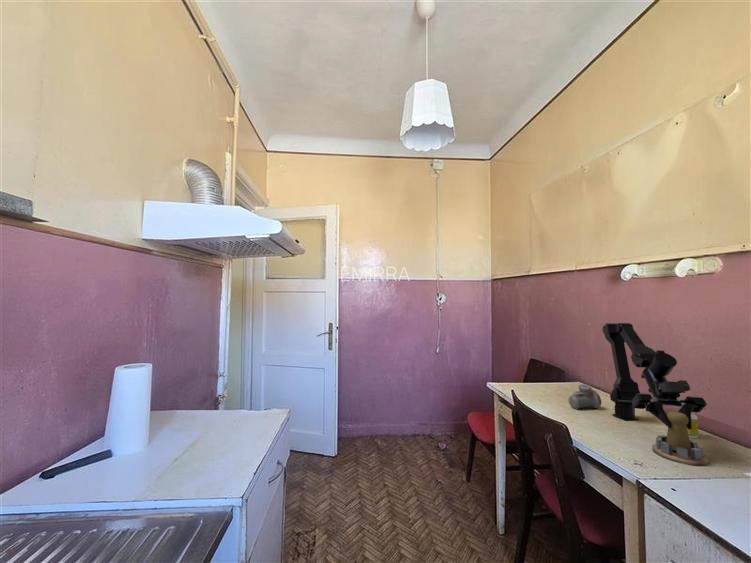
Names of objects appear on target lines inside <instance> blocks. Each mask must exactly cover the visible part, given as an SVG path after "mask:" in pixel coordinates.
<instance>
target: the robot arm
mask: <svg viewBox="0 0 751 563" xmlns="http://www.w3.org/2000/svg"><path fill="white" fill-rule="evenodd" d="M602 332H603V335H604V338H605V339H606V340H607V342H608V343H609V344H610V348H611V353H612V358H613V364H614V370H615V374H616V379H615V381H614V383H613V389H612V390H611V392H610V394H609V396H610V401H611V402H613V403H614V413H612V414H611V416H613V417H616V418H619V419H621V420H623V421H636V420H637V421H638V420H639V417H636V409H638V410H644V409H645V412H648V413H651V414H652V415H653V416H654V417H655V418H656V419H658V420H659V421H661V422H662V423H663V424H664V425H665V426H666V427H667V429H668V428H671V427H672V426H671V423H670V421H669V419H668V417H667V412H665V410H664V406H669V407H672V406H673V407H677V408H678V411H677V412H680V413H683V414H685V415H686V416H687V417H688V419H689V421H688V424H687V425H686V426H687V428H688V429H689V430H691V429H692V423H691V412H694V414H696V413H700V412H701V411H703V409H705V407H707V405H708V403H707V402H706V399H704V398H703V397H701V396H693V395H692V396H689V395H687V396H686V397H685V399H678V398H680V397H681V394H684V393H686V392H689V391H690V390H691V386H690V384H689V383H688V381H687V380H683V379H682V380H681V379H680V380H678V381H670V380H668V379H667V376H669V375H670V374H671V373H672V371H673V370H674V368H675V367H676V366H677V364H678V361H677V359H676V357H674V356H673V355H671V354H669V353H667V352H665V350H660V349H659V350H656V351H655V350H654V349H652V348H651V347H648V346H647V345H646V344H645V343H644V342H643V340H642V339H641V337H640V336H639V334H638V333H637V332H636V330H635V329H634V326H633V324H632V323H630V322H618V323H615V322H614V323H612V322H609V323H605V324H604V325H602ZM625 343H626V345H627V347H628V348H629V349H630V350H629V351H630V352H631V355H630V358H631V362H632V364H633V365H634V366H635V367H636V368H643V371H642V373H641V376H640V378H641V379H645V381H646V384H647V386H648V389H647V391H648V393H644V392H642V393H641V392H640V389H639V383H638V382H637V381H634V379H633V378H632V377H631V371H630V366H629V365H630V364H629V361H628V355H627V350H626V345H625Z"/></svg>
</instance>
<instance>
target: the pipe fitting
mask: <svg viewBox="0 0 751 563" xmlns="http://www.w3.org/2000/svg"><path fill="white" fill-rule="evenodd" d="M577 386H578V390H577V391H574V392H573V394H571V395H569V396H568V398H567V399H568V404H569V405H570V407H571V408H573V410H579V409H582V408H583V409H584V408H588V407H589V408H591V409H598V408H601V405H602V399H601V396H600V394H599V393H598V392H597V391H596V390H595V389H592V386H591V385H589V384H579V385H577Z"/></svg>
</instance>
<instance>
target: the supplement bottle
mask: <svg viewBox="0 0 751 563" xmlns="http://www.w3.org/2000/svg"><path fill="white" fill-rule="evenodd" d="M698 422H699V419H698V415H696V414H695V412H691V423H692V429H691V430H689V429H688V428H687V431H688V435H689V438H692V439H697V438H699V423H698Z"/></svg>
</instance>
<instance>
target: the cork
mask: <svg viewBox="0 0 751 563" xmlns="http://www.w3.org/2000/svg"><path fill="white" fill-rule="evenodd" d="M666 415H667V417H668V419H669V421H670V423H671V426H672V427H671V428H668V427H667V432H666V433H667V434H666V436H667V439H666V443H668V444H671V445H672V449H673V450H676V446H678V447H683V448H687V450H688V452H691V445H690V440H691V439H690V437H689V435H688V431H687V426H686V425H687V424H688V421H689V419H688V417H687V416H686V415H685V414H683V413H680V412H678V411H673V410H670V411H668V412H666Z"/></svg>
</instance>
